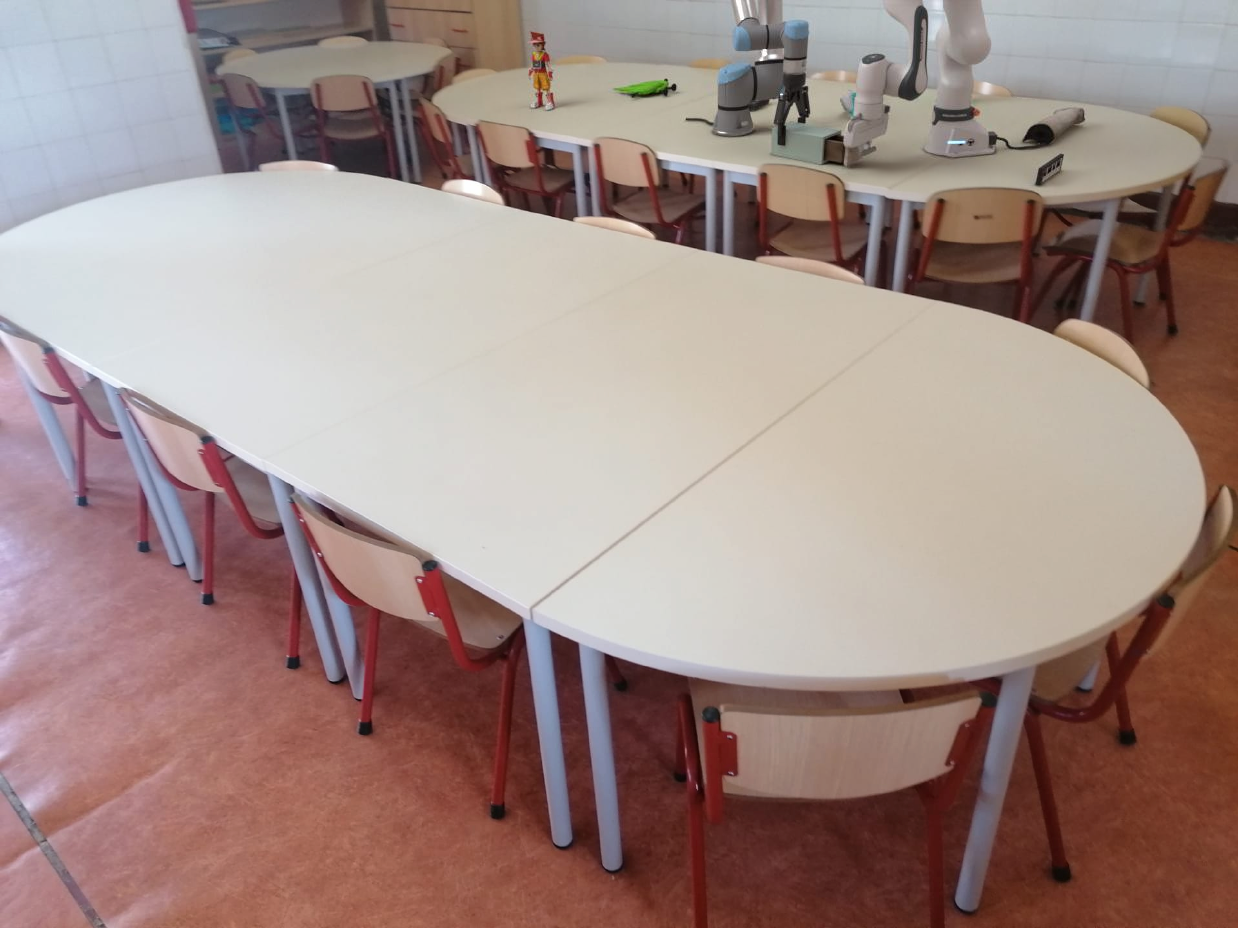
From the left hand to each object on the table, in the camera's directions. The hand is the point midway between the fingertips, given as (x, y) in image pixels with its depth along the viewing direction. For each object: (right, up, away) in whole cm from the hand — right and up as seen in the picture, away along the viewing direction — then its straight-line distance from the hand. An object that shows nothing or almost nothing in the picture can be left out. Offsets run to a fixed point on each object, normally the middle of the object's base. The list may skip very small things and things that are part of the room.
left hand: (790, 141), depth 308 cm
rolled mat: (+92, +4, +4) cm, 93 cm away
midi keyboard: (+73, -23, -33) cm, 83 cm away
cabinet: (+4, -5, -1) cm, 7 cm away
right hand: (+20, -11, -17) cm, 28 cm away
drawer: (+13, -9, -9) cm, 19 cm away
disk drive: (-5, +35, +58) cm, 68 cm away
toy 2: (-50, +54, +89) cm, 115 cm away
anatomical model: (+31, +23, +37) cm, 54 cm away
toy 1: (-92, +41, +75) cm, 126 cm away
